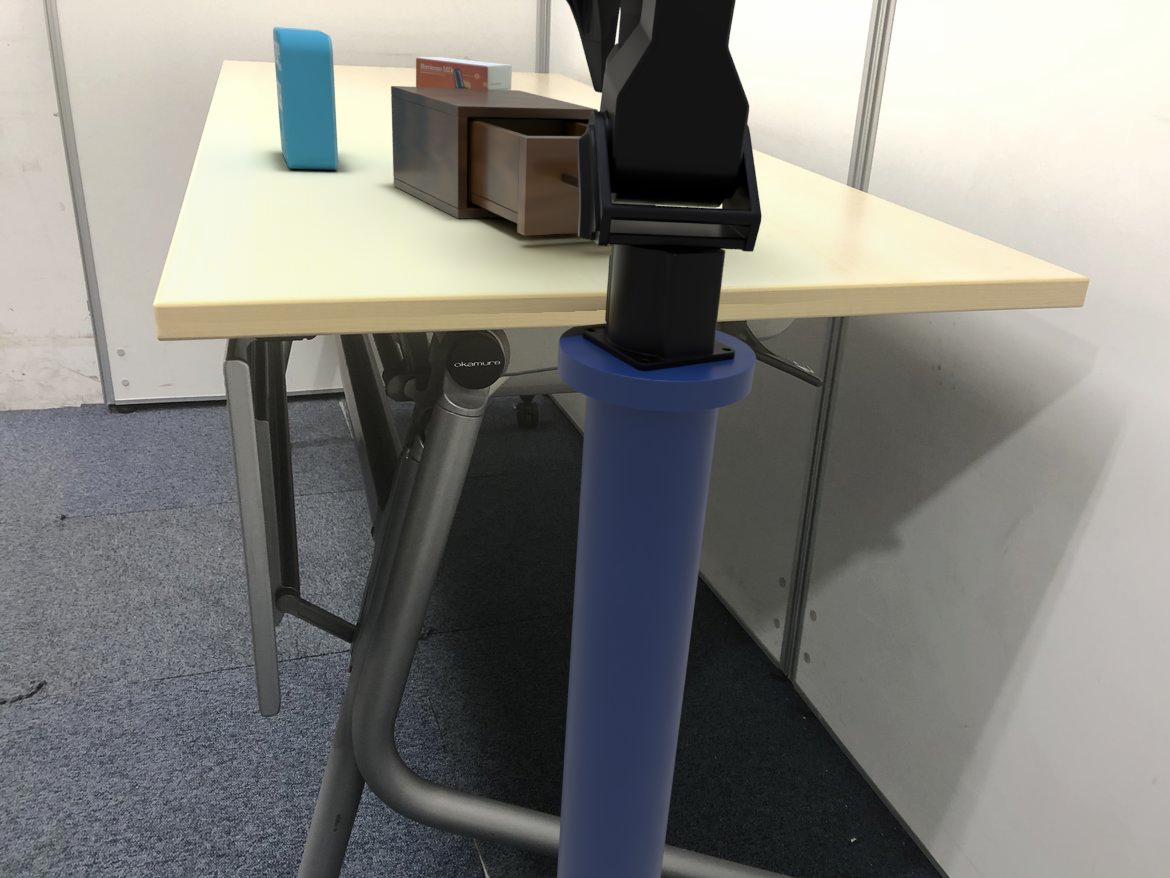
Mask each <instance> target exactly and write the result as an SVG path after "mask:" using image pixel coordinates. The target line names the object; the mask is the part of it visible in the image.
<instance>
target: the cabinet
mask: <svg viewBox="0 0 1170 878" xmlns="http://www.w3.org/2000/svg"><path fill="white" fill-rule="evenodd" d="M390 95H391V96H390V99H391V101H390V103H391V137H392V138H391V140H392V175H393V187H395V188H397V189H399V190H401V191H403V192H405V193H407V194H409V195H410V196H412V197H415V198H417V199H419V200H420V201H422V202H424V203H426V204H428V205H431V206H432V207H435V208H436V209H438V210H440V211H442V212H444V213H447V214H448V215H450V216H452V217H455V219H487V218H489V219H490V218H503V217H502V216H500V215H498V214H495V213H493V212H491V211H489V210H487V209H485V208H483V207H480V206H478V205H476V204H474V203H472V202H470V201H468V200H467V117H491V118H543V119H570V120H573V121H577V122H581V123H584V124H588V122H589V117H590V114H591V112H592V111H599V110H598V109H597V108H593V107H588V106H584V105H580V104H576V103H572V102H568V101H564V100H560V99H556V98H553V97H547V96H544V95H540V94H535V93H531V92H527V91H522V90H515V89H511V90H491V89H463V88H435V87H416V86H404V85H401V86H400V85H391V86H390Z"/></svg>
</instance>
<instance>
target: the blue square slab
mask: <svg viewBox="0 0 1170 878" xmlns="http://www.w3.org/2000/svg"><path fill="white" fill-rule="evenodd" d="M272 38H273V53H274V67H275V80H276V81H275V82H276V93H277V94H276V95H277V109H278V122H279V134H280V136H279V137H280V146H281V152H282V155H283V157H284V160H285V162H286V165H287V167H288V168H289V169H290V170H324V171H325V170H327V171H335V170H338V166H339V150H338V149H339V148H338V147H339V146H338V131H337V130H338V129H337V128H338V127H337V109H336V107H337V106H336V89H335V70H334V69H335V68H334V67H335V65H334V51H333V49H334V48H333V42H332V38H331V36H330V35H329V34H328V33H325V32H323V31H322V30H321V29H320V30H319V29H311V28H296V27H295V28H294V27H283V26H282V27H281V26H275V27H273V29H272Z"/></svg>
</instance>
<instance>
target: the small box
mask: <svg viewBox="0 0 1170 878" xmlns="http://www.w3.org/2000/svg"><path fill="white" fill-rule="evenodd" d="M512 74H513V66H512V65H511V64H509V63H497V62H489V61H477V60H469V59H462V58H461V59H459V58H451V57H444V56H417V57H416V58H415V87H435V88H463V89H491V90H512V79H513V77H512V76H513V75H512Z"/></svg>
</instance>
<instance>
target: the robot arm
mask: <svg viewBox="0 0 1170 878" xmlns="http://www.w3.org/2000/svg"><path fill="white" fill-rule="evenodd" d="M565 1H566V3H567V4H568V6H569V9H570V11H571V14H572V16H573V19H574V22H575V25H576V28H577V31H578V34H579V39H580V41H581V46H582V49H583V53H584V56H585V61H586V64H587V69H588V72H589V75H590V80H591V84H592V87H593V90H594V92H596V93H600V94H601V98H600V104H599V105H600V106H599V110H598V111H592V112H591V114H590V117H589V122H588V124H587V127H586V131H585V133H584V134H583V135H582V136H581V137H580V138H579V139H578V141H577V156H578V182H579V222H578V233H577V236H578V238H580V239H585V240H588V241H594V243H595V244H596V246H598V247H599V246H600V247H609V245H611V247H610V255H609V256H608V271H607V285H606V299H605V301H606V302H605V314H604V315H605V317H604V323H606V326H601V327H592V328H585V329H583V336H582V337H583V338H584V339H586V340H587V341H589V342H591V343H592V344H594V345H596V346H598V347H599V348H601V349H603V350H604V351H606V352H608V353H609V354H611V355H613V356H614V357H616V358H618V359H620V360H621V361H623V362H625V363H626V364H628V365H630V366H631V367H633V368H635V369H637V370H640V371H653V370H660V369H667V368H674V367H681V366H688V365H695V364H702V363H709V362H717V361H724V360H731V359H734V358H735V349H733V348H731V347H729V346H727V345H725V344H723V343H721V342H719V341H717V340H715V335H716V330H717V325H718V317H719V309H720V300H721V291H722V285H723V284H722V283H723V276H724V266H725V258H726V250H738V251H741V252H748V253H753V252H754V250H755V247H756V243H757V239H758V236H759V235H758V234H759V231H760V227H761V224H762V209H761V203H760V202H761V201H760V194H759V188H758V181H757V172H756V165H755V158H754V157H755V156H754V152H753V151H754V150H753V143H752V136H751V130H750V126H749V124H748V122H749V115H750V103H749V100H748V96H747V95H746V91H745V89H744V86H743V84H742V81H741V78H740V75H739V72H738V69H737V67H736V65H735V62H734V58H733V56H732V53H731V50H730V46H729V44H730V37H731V30H732V26H733V19H734V14H735V13H734V12H735V6H736V1H737V0H565ZM618 25H619V26H618ZM617 33H618V36H617ZM616 41H617V43H616ZM618 203H625V204H618ZM638 204H646V205H638ZM720 207H721V208H720Z"/></svg>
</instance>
